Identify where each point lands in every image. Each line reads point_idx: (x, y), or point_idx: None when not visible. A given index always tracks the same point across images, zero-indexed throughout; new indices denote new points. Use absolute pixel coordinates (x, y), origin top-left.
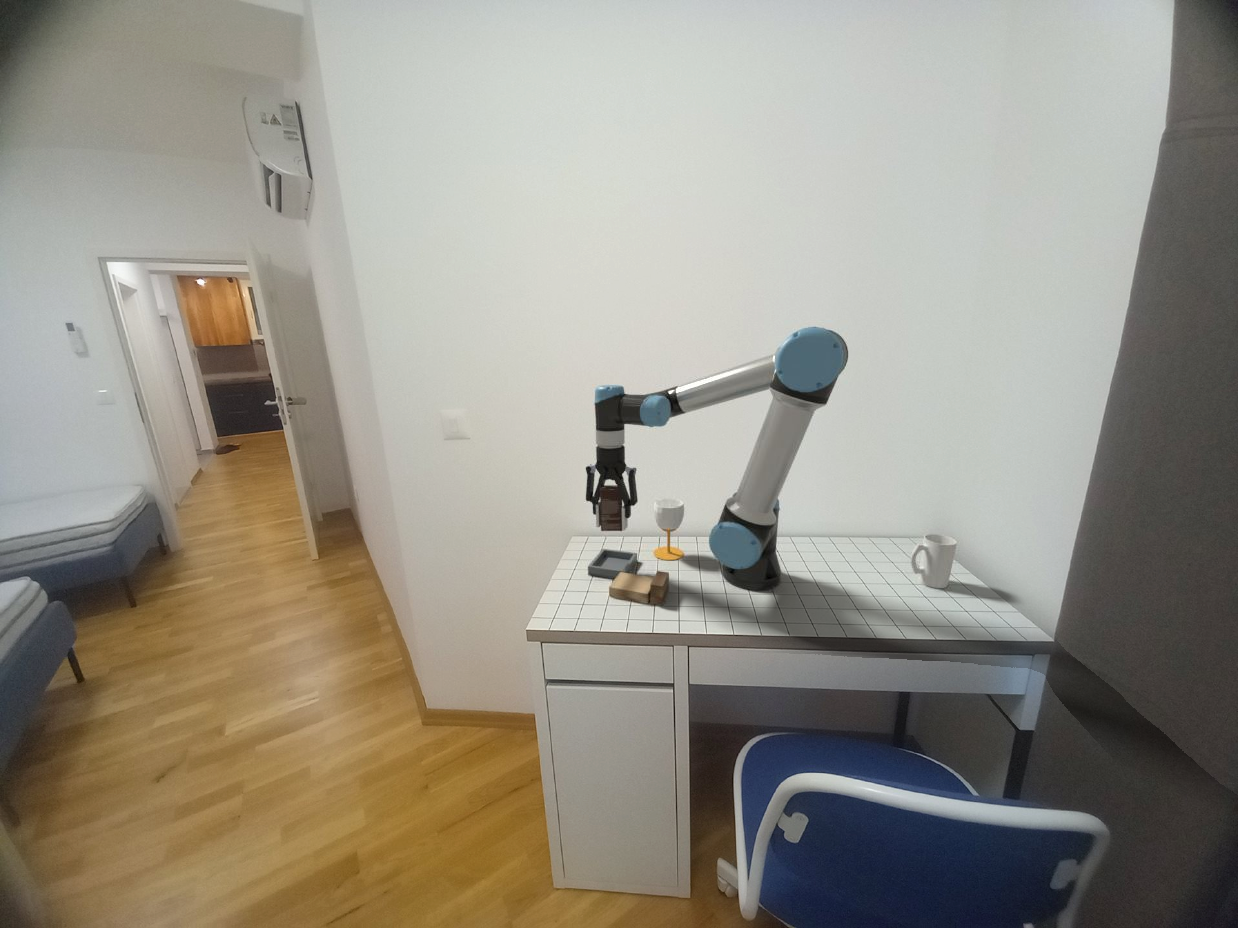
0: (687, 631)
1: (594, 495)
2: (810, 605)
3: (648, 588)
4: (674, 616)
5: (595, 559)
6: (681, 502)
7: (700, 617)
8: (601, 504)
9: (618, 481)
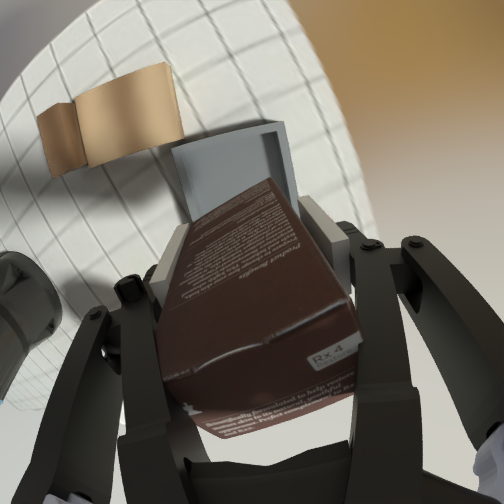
0: (13, 86)
1: (387, 273)
2: None
3: (82, 117)
4: (36, 101)
5: (287, 167)
6: (124, 422)
7: (10, 131)
8: (294, 225)
9: (128, 450)
